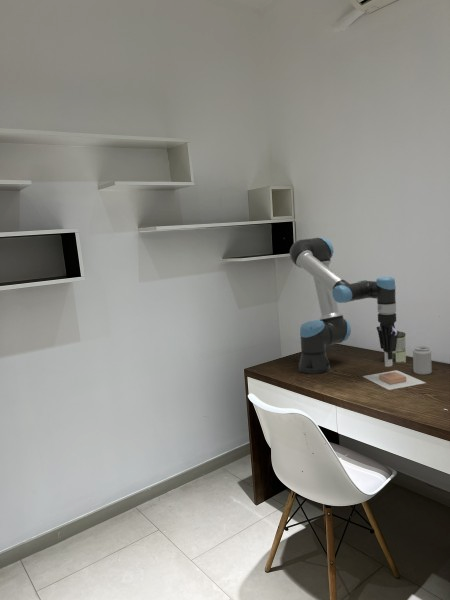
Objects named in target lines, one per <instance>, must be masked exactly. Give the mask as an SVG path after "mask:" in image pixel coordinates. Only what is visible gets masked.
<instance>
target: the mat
mask: <svg viewBox="0 0 450 600" xmlns="http://www.w3.org/2000/svg"><path fill="white" fill-rule="evenodd" d="M390 372H397V373H399V374H401V375H404V376H406V380H407V381H405V382H400V383H394V384H389V383H387V382H385V381H383V380H380V379H379V374H385V373H390ZM362 378H365V379H367V380H369V381H370V382H372V383H374V384H376V385H378V386H381V388H384V389H386V390H388V391H392V390H396V389H402V388H407V387H412V386H418V385H423V384H426V382H425V381H423V380H420V379H418V378H416V377H413V376H412V375H409V374H406V373H405V372H402V371H399V370H397V369H396V370H395V369H394V370H391V371H386V372H379V373H374V374H373V373H372V374H367V375H362Z"/></svg>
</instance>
